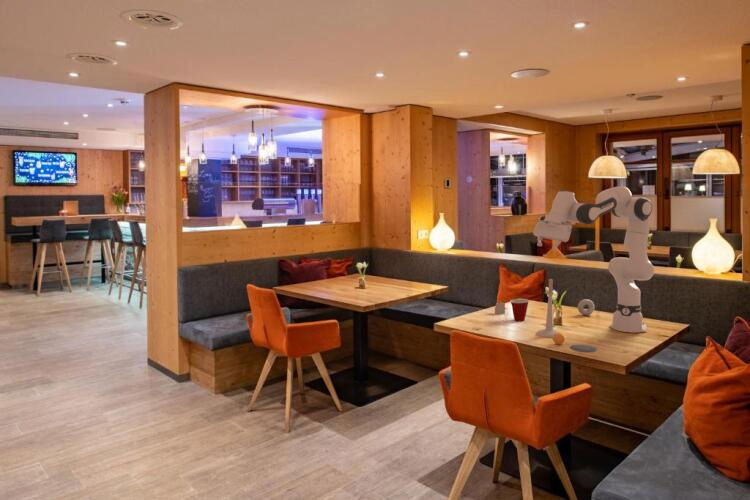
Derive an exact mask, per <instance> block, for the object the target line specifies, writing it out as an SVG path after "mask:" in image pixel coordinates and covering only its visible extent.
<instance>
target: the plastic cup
mask: <svg viewBox="0 0 750 500" xmlns="http://www.w3.org/2000/svg"><path fill="white" fill-rule="evenodd" d="M509 302H510V304H511V307H512V308H511V309H512V314H513V319H514V321H516V322H524V321H525V320H526V315H527V310H528V305H529V302H530V300H529V299H523V298H517V299H516V298H515V299H510V301H509Z"/></svg>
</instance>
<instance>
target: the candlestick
mask: <svg viewBox="0 0 750 500" xmlns="http://www.w3.org/2000/svg"><path fill="white" fill-rule="evenodd" d="M553 283H554V279H552V278H549V279H548V291H546V293H547V296H548V299H547V310H546V321H545V328H543V329H539V330H538V331H536V333H535V334H536V335H537V336H538V337H541V338H547V339H553V336H554V335H555V334H557V333H560V334H562V333H561V332H560V331H559V330H555V329H554V328H553V327H554V324H553V320H554V317H553V296H554V293H555V292H554V291H553V290H554V288H553V286H554V285H553Z"/></svg>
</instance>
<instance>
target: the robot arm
mask: <svg viewBox="0 0 750 500" xmlns="http://www.w3.org/2000/svg"><path fill="white" fill-rule="evenodd" d="M609 212H610V213H611V214H612V216H614V217H617V218H623V219H624V218H625V219H628V223H627V225H626V226H627V227H626V230H625V231H626V232H625V235H624V236H625V237H624V242H623V248H625V249H626V250H627V251H628V255H629V257H624V256H623V257H622V256H619V257H613V258H611V259H610V261H609V262H608V266H607V267H608V271H609V273H610V274H611V275H612V277H614V280H615V283H616V287H617V302H616V310H615V311H614V312H613V315H612V323H611V324H609V326H608V327H609V328H610V329H614V330H615V331H619V332H624V333H647V332H648V331H647V324H646V323H644V321H643V318H644V317H643V314H642V312H641V311H642V305H641V304H642V303H641V293H642V292H641V289H640V288H639V287H638V286H637V285H636V283H635V280H636V281H648V280H650V279H651V278H652V277H653V276H654V274H655V266H654V265H653V264H652V262H651V261H650V259H649V258H648V251H647V247H648V240H649V235H650V225H651V224H650V223H651V222H650V220H651V219H650V216H651V213H652V212H653V203H652V202H651V200H649V199H648V198H646V197H636V196H635V197H633V196H632V192H631V191H630V189H629V188H628V187H626V186H615V187H610V188H608V189H604V190H602V191H600V192H599V193H598V194H597V196H596V198H595V203H589V202H588V203H581V202H578V201H577V199H576V198H575V193H574V191H570V190H559V191H558V192H557V194H556V195H555V198H554V200H553V202H552V205H551V209H550V211H549V213H548V214H546V215H541V216H539V217H538V219H537V220H538V222H537V223H536V224H535V226H534V229H533V232H532V233H533V236H535V237H537V244H536V245H537V247H542V246H543V242H542V241H543V239H548V240H553V241H555V243H553V244H552V246H551V248H552V249H553V250H556V249H557V248H558V247H559V245H560V244H561V243H562V242H565V243H567V242H568V241H569V240H570V237H571V232H572V229H573V225H572V223H577V224H583V225H592V224H594V223H595V222H596V221H597V220H598V219H599V218H600V217H602V216H603V215H606V214H608V213H609Z"/></svg>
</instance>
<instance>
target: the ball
mask: <svg viewBox="0 0 750 500" xmlns="http://www.w3.org/2000/svg"><path fill="white" fill-rule="evenodd" d="M560 333H561V332H560ZM560 333H557V334H555V335H554V336H553V338H552V341H553V342H554V343H555V344H556V345H562V344H563V343H564V342H565V336H564V335H563V334H562V333H561V334H560Z"/></svg>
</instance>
